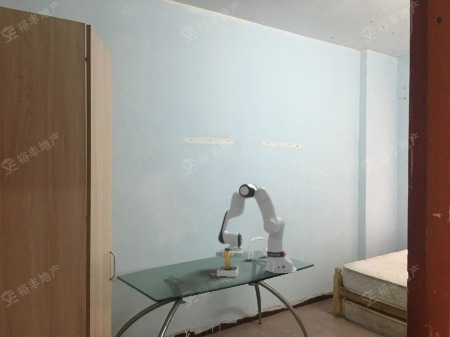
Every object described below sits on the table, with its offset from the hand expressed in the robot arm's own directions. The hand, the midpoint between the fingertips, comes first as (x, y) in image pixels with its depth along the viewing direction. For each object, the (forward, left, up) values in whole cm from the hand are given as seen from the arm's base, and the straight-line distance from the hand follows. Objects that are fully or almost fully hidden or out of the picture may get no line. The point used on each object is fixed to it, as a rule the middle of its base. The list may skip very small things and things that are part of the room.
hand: (227, 256), depth 244 cm
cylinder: (0, -1, -9) cm, 9 cm away
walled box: (0, -1, -13) cm, 13 cm away
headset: (-19, -49, -13) cm, 55 cm away
